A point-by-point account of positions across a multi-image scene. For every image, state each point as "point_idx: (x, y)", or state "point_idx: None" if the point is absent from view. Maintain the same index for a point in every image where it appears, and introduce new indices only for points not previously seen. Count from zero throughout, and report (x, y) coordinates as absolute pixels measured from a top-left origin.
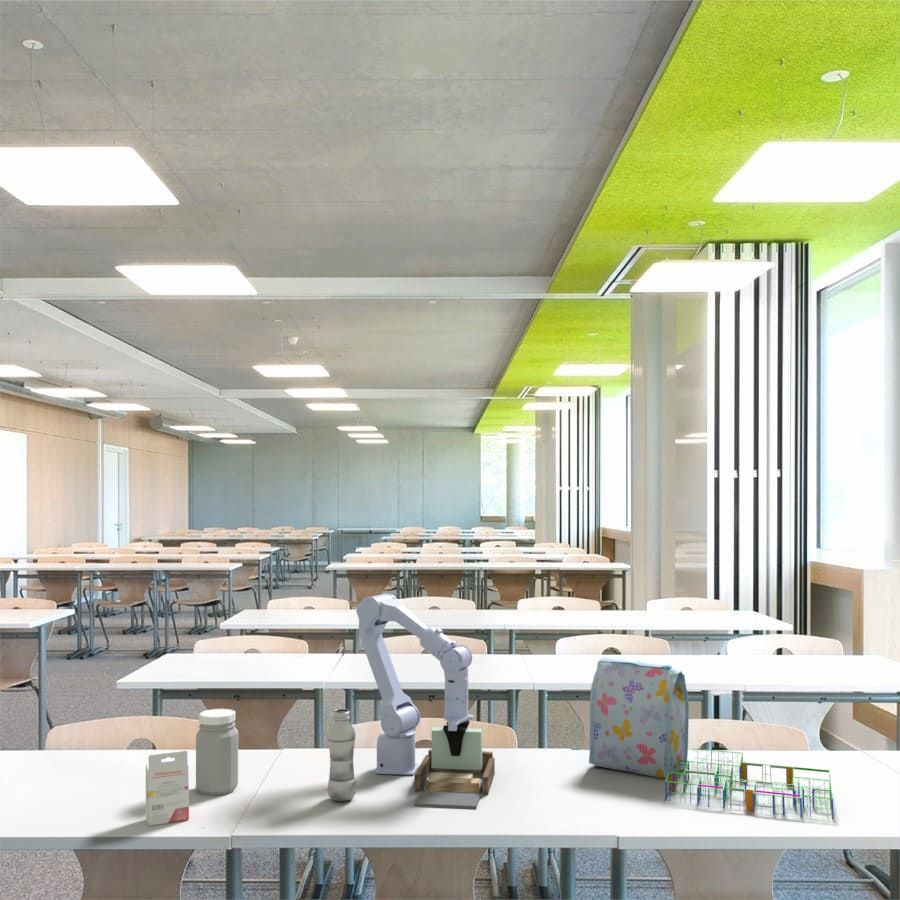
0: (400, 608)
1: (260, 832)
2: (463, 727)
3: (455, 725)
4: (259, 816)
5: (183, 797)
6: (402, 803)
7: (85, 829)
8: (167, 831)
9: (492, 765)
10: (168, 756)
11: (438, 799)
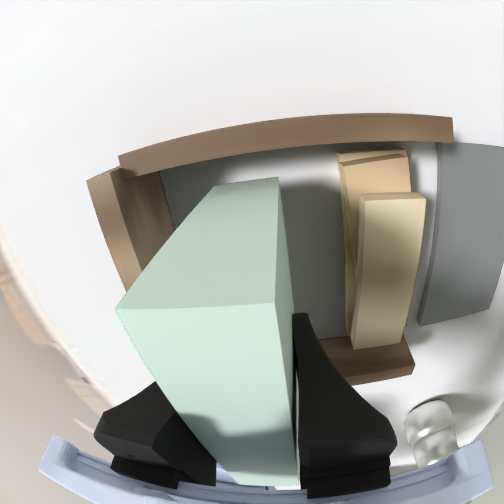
0: None
1: (498, 404)
2: (320, 459)
3: (489, 472)
4: (456, 428)
5: None
6: (466, 330)
7: None
8: (466, 442)
9: (224, 128)
10: None
11: (479, 264)
